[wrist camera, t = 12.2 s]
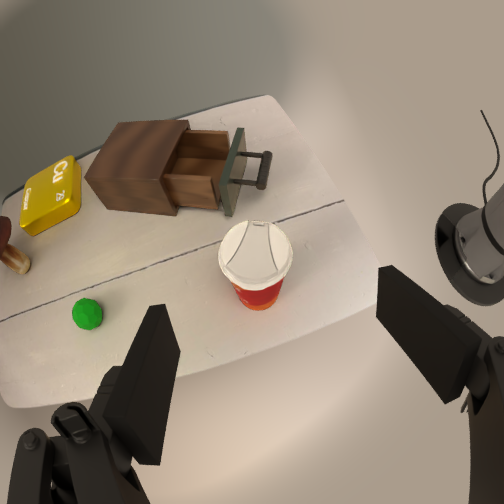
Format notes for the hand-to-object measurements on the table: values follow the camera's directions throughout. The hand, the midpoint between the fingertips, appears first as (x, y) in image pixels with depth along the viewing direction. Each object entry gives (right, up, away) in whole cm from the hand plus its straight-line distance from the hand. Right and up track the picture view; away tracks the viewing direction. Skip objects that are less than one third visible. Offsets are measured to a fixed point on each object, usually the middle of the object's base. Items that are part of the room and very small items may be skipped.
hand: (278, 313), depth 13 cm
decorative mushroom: (-47, 0, +33) cm, 57 cm away
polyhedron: (-26, -8, +28) cm, 39 cm away
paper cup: (0, -3, +29) cm, 29 cm away
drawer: (-7, +15, +36) cm, 40 cm away
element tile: (-45, +14, +40) cm, 61 cm away
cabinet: (-20, +16, +39) cm, 47 cm away
